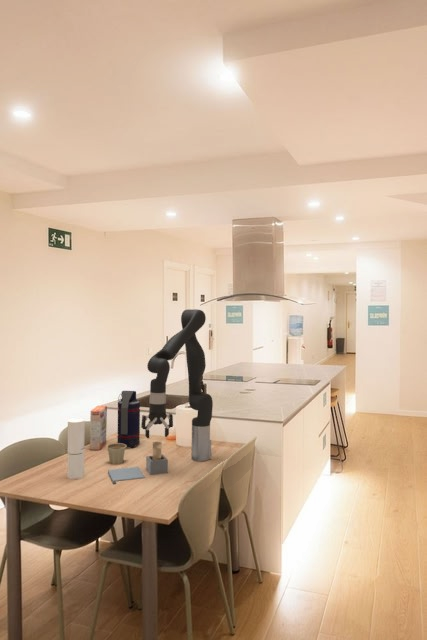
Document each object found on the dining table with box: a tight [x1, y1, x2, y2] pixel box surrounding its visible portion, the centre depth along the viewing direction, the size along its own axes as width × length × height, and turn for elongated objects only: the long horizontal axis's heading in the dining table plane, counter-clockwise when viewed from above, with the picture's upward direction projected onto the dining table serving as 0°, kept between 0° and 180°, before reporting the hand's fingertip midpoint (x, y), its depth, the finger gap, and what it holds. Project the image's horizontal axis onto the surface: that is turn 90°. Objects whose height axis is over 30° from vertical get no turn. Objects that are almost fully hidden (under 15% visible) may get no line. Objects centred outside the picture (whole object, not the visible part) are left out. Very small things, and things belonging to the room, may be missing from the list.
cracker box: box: [89, 405, 108, 451], centre depth 257 cm, size 14×6×21 cm, turn 179°
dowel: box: [152, 440, 162, 460], centre depth 217 cm, size 4×4×13 cm
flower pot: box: [106, 442, 127, 465], centre depth 230 cm, size 9×9×9 cm
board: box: [107, 466, 146, 485], centre depth 212 cm, size 14×14×2 cm
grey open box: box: [145, 454, 169, 476], centre depth 218 cm, size 8×8×7 cm
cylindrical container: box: [66, 418, 85, 480], centre depth 212 cm, size 7×7×25 cm
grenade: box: [117, 390, 141, 449], centre depth 259 cm, size 14×12×30 cm
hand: (157, 437), depth 217 cm, fingers open, 8 cm apart
